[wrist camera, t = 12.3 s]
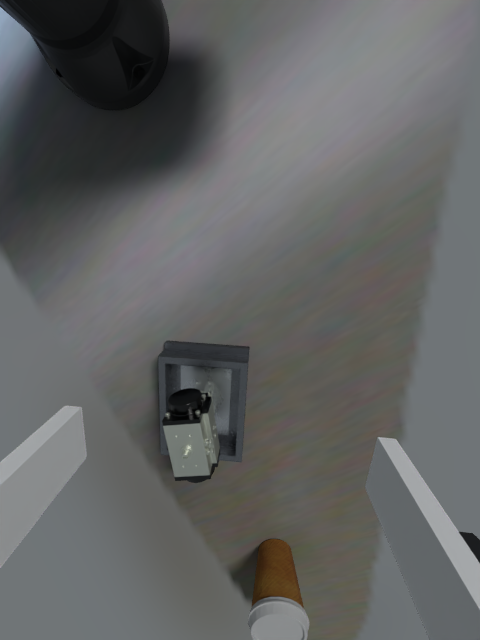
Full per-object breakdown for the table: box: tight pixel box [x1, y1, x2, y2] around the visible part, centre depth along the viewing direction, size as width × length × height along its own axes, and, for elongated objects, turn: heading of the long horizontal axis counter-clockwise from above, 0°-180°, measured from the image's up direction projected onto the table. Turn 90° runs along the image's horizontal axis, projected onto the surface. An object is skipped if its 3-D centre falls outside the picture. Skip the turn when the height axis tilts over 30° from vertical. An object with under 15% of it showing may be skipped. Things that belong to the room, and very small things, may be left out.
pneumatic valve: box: [162, 388, 220, 483], centre depth 40 cm, size 6×12×12 cm, turn 7°
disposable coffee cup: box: [248, 539, 309, 640], centre depth 49 cm, size 10×10×12 cm
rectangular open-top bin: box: [158, 341, 249, 462], centre depth 45 cm, size 19×13×4 cm
